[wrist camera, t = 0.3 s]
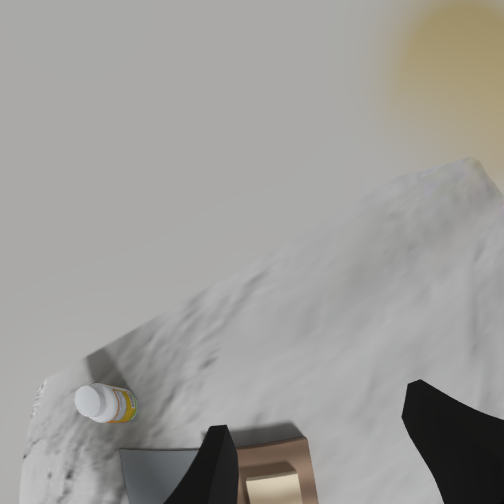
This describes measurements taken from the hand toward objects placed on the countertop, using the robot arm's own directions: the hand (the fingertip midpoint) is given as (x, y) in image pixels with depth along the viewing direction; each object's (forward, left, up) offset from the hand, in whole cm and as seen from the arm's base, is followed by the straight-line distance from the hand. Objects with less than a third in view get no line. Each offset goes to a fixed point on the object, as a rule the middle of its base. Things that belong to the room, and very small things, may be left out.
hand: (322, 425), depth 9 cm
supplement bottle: (+3, +23, -29) cm, 37 cm away
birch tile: (-12, +3, -26) cm, 29 cm away
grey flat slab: (-12, +18, -29) cm, 36 cm away
